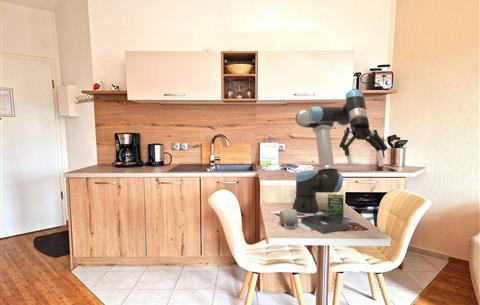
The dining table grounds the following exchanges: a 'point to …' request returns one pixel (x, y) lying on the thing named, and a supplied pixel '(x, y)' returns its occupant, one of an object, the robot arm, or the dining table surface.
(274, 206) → the dining table surface
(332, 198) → the coffee box
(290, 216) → the ceramic mug
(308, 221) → the housing
